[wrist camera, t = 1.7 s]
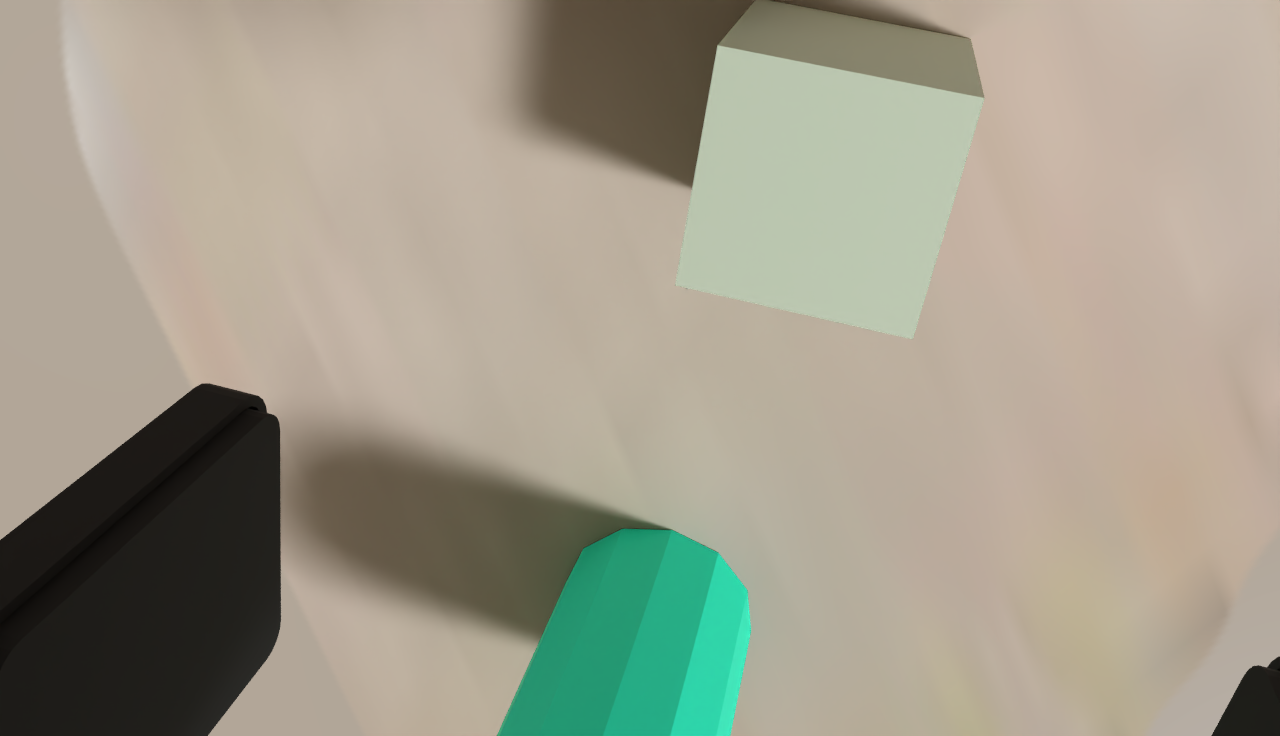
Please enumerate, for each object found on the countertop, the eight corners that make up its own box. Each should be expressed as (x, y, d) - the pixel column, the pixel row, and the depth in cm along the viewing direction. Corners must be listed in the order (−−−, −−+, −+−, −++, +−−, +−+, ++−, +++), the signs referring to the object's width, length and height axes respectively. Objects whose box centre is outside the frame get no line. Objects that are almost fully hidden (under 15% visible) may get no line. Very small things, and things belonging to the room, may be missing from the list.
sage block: (757, -3, 26) (717, 45, 21) (970, 38, 25) (984, 98, 20) (719, 197, 28) (675, 285, 23) (913, 239, 28) (912, 339, 23)
